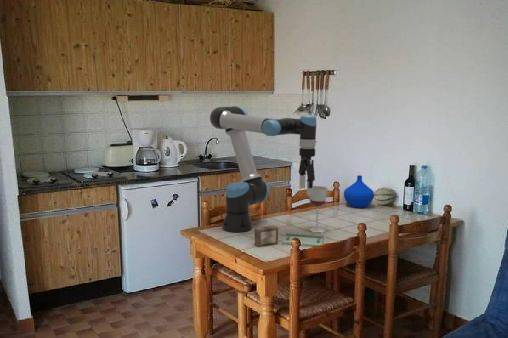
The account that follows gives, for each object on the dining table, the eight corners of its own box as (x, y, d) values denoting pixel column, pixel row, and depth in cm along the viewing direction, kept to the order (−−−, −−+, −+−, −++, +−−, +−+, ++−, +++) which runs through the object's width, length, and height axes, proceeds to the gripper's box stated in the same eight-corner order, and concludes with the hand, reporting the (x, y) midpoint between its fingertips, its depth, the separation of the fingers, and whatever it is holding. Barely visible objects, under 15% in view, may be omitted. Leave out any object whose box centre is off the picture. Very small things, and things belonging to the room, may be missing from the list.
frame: (258, 247, 208) (258, 230, 207) (254, 244, 212) (254, 228, 210) (278, 244, 212) (278, 227, 211) (273, 241, 216) (273, 225, 215)
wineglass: (321, 234, 228) (323, 190, 224) (304, 230, 233) (305, 188, 229) (328, 229, 235) (330, 187, 231) (311, 226, 240) (312, 185, 236)
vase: (367, 211, 272) (369, 179, 269) (338, 207, 282) (339, 176, 279) (377, 205, 287) (379, 175, 284) (349, 201, 297) (350, 172, 294)
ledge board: (281, 244, 212) (282, 240, 212) (286, 236, 223) (286, 233, 223) (321, 247, 208) (321, 243, 207) (323, 239, 219) (323, 236, 218)
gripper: (322, 151, 207) (320, 197, 211) (308, 144, 232) (306, 185, 235) (306, 151, 206) (305, 197, 210) (293, 144, 230) (292, 185, 234)
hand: (305, 191), depth 223 cm, fingers open, 13 cm apart
